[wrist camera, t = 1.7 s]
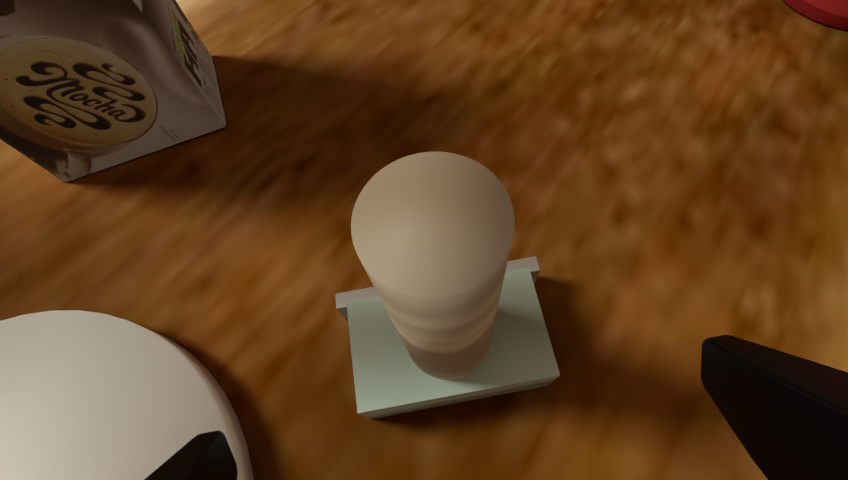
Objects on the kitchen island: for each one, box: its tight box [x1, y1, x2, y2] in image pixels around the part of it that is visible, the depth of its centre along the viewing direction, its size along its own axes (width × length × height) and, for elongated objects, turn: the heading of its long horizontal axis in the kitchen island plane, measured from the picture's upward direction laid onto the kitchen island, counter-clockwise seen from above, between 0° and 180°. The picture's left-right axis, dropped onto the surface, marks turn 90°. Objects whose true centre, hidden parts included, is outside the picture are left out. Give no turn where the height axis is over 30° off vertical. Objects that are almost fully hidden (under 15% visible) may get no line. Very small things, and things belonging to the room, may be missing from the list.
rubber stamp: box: [335, 152, 560, 419], centre depth 14 cm, size 5×8×12 cm, turn 100°
